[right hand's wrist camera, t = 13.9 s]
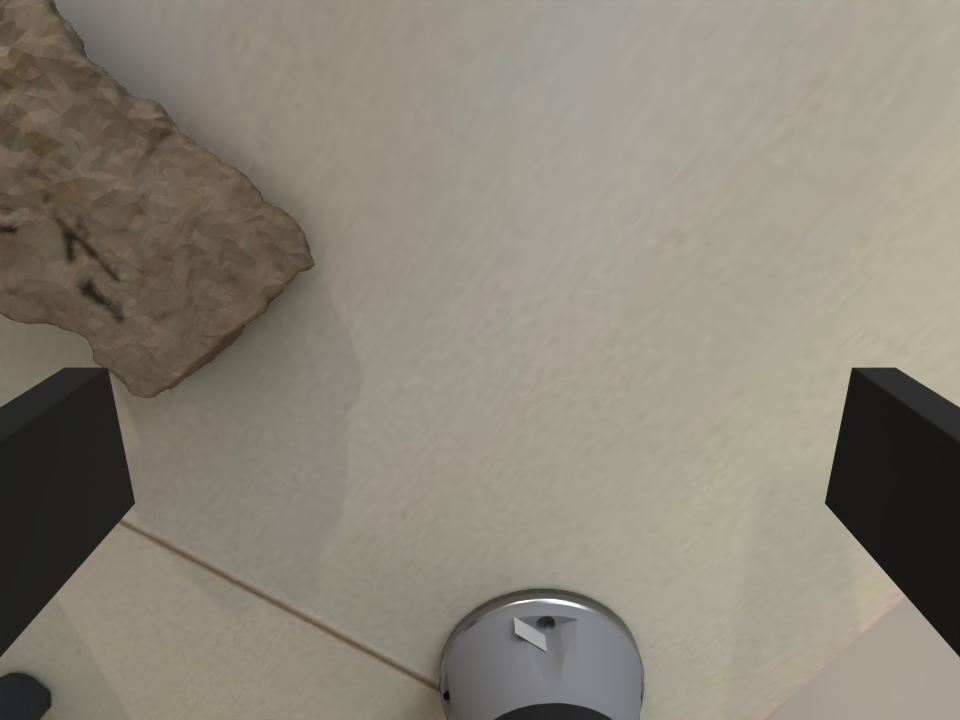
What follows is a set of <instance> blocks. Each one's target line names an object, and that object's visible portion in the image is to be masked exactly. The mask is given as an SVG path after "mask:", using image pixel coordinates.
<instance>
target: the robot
mask: <svg viewBox="0 0 960 720" xmlns="http://www.w3.org/2000/svg"><path fill="white" fill-rule="evenodd" d="M50 707H51V698H50V692H49V691H48V690H47V689H46V688H45V687H43V686H42V685H41V684H40V683H39V682H38V681H36V680H35V679H34V678H32V677H29V676H27V675H25V674H16V673H9V674H7V675H5V676H3V677H1V678H0V720H40V718H41V717H42V716H43V715H44V714H45V712H46V711H47V710H48V709H49V708H50Z"/></svg>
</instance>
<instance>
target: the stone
mask: <svg viewBox="0 0 960 720" xmlns="http://www.w3.org/2000/svg"><path fill="white" fill-rule="evenodd" d="M314 265H315V263H314V260H313V258H312V256H311V255H310V249H309V245H308V242H307V241H306V237H305V234H304V232H303V231H302V230H301V228H300V227H299V225H298V223H297V222H296V221H295V220H294V219H293V218H292V217H291V216H289V215H288V214H286V213H285V212H284V211H282V210H281V209H280V208H277V207H274V206H272V205H270V204H267V203H265V202H263V199H262V197H261V194H260V192H259V190H258V189H257V188H256V187H255V186H254V185H253V184H252V182H251V181H250V180H249V179H248V177H247V176H245V175H244V174H243V173H241V172H240V171H239V170H237V169H236V168H234V167H232V166H230V165H227V164H225V163H223V162H222V161H221V160H220V159H218V158H217V157H216V156H215V155H213V154H212V153H211V152H209V151H208V150H206V149H204V148H203V147H199V146H196V144H195V142H194V141H193V140H191V139H190V138H188V137H187V136H185V135H184V134H182V133H181V132H180V131H179V129H178V127H177V125H176V124H175V123H174V121H173V120H172V119H171V118H170V117H169V115H168V114H167V113H166V111H165V110H164V108H163V107H162V105H161V104H160V103H157V102H156V101H155V100H152V99H147V100H146V99H140V98H136V97H133V96H130V95H129V94H128V92H127V91H126V89H125V88H124V87H123V86H121V85H120V84H119V83H117V82H116V81H115V80H113V79H112V78H111V77H110V76H109V75H108V73H107V72H106V71H105V70H104V69H103V68H102V67H100V66H97V65H95V64H93V63H92V62H91V61H90V60H89V59H87V57H86V54H85V51H84V44H83V41H82V40H81V38H80V37H79V35H78V34H77V33H76V31H75V30H74V28H73V27H72V26H71V25H70V24H69V23H68V22H67V21H66V20H65V19H64V18H63V17H62V16H61V15H60V13H59V12H58V11H57V9H56V6H55V3H54V1H53V0H0V314H2V315H4V316H5V317H7V318H9V319H11V320H14V321H18V322H22V323H27V324H35V323H47V324H51V325H56V326H58V327H60V328H62V329H64V330H67V331H71V332H75V333H78V334H80V335H82V336H84V337H86V338H87V340H88V342H89V344H90V346H91V347H92V351H93V360H94V362H95V363H96V364H98V365H100V366H102V367H104V368H108V370H109V371H110V372H112V373H113V374H115V375H116V376H117V377H118V378H119V379H120V380H121V381H122V382H123V383H124V384H125V385H126V387H127V388H128V390H129V392H130V393H132V394H133V395H134V396H139V397H143V398H150V397H155V396H156V395H158V394H159V393H160V392H162V391H164V390H166V389H168V388H169V389H172V388H174V387H175V386H177V385H178V384H179V383H180V382H181V381H182V380H184V379H185V378H186V377H188V376H189V375H191V374H192V373H194V372H195V371H197V370H198V369H200V368H201V367H203V366H204V365H205V364H207V363H210V362H211V361H212V360H213V359H214V358H215V357H216V356H217V355H218V354H220V353H221V352H222V351H223V350H224V349H225V348H226V347H228V346H230V345H231V344H232V343H233V342H234V341H235V340H236V339H237V337H238V336H239V335H241V333H242V330H243V328H244V326H245V324H246V323H248V322H250V321H251V320H253V319H255V318H257V317H258V316H260V315H262V314H264V313H265V312H266V310H267V308H268V306H269V303H270V302H271V301H272V300H274V299H275V298H276V297H277V296H278V295H279V294H280V293H281V292H282V291H283V289H284V287H285V286H286V285H287V284H288V283H289V282H290V281H291V280H292V279H293V278H294V277H295V276H296V275H297V273H298V272H300V271H307V270H309V269H311V268H312V267H313V266H314Z"/></svg>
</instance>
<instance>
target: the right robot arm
mask: <svg viewBox="0 0 960 720" xmlns="http://www.w3.org/2000/svg"><path fill="white" fill-rule="evenodd" d="M134 504H135V500H134V495H133V490H132V485H131V480H130V475H129V470H128V465H127V461H126V456H125V451H124V446H123V441H122V436H121V431H120V426H119V421H118V416H117V411H116V406H115V401H114V396H113V391H112V386H111V381H110V376H109V371H108V368H63V369H62V370H60V371H58V372H57V373H55V374H54V375H52V376H50V377H49V378H47V379H45V380H44V381H42V382H41V383H39V384H37V385H36V386H34V387H33V388H31V389H29V390H28V391H26V392H25V393H23V394H21V395H20V396H18V397H17V398H15V399H13V400H12V401H10V402H8V403H7V404H5V405H4V406H2V407H0V657H1V656H2V655H3V653H4V652H5V651H6V650H7V649H8V648H9V647H10V645H11V644H12V643H13V642H14V641H15V640H16V639H17V637H18V636H19V635H20V634H21V633H22V632H23V631H24V629H25V628H26V627H27V626H28V625H29V624H30V623H31V621H32V620H33V619H34V618H35V617H36V616H37V615H38V613H39V612H40V611H41V610H42V609H43V608H44V607H45V605H46V604H47V603H48V602H49V601H50V600H51V599H52V597H53V596H54V595H55V594H56V593H57V592H58V591H59V589H60V588H61V587H62V586H63V585H64V584H65V583H66V581H67V580H68V579H69V578H70V577H71V576H72V575H73V574H74V572H75V571H76V570H77V569H78V568H79V567H80V566H81V564H82V563H83V562H84V561H85V560H86V559H87V558H88V556H89V555H90V554H91V553H92V552H93V551H94V550H95V548H96V547H97V546H98V545H99V544H100V543H101V542H102V540H103V539H104V538H105V537H106V536H107V535H108V534H109V532H110V531H111V530H112V529H113V528H114V527H115V526H116V524H117V523H118V522H119V521H120V520H121V519H122V518H123V516H124V515H125V514H126V513H127V512H128V511H129V510H130V508H131V507H132V506H133V505H134ZM825 504H826V505H827V506H828V507H829V508H830V510H831V511H832V512H833V513H834V514H835V515H836V516H837V518H838V519H839V520H840V521H841V522H842V523H843V524H844V526H845V527H846V528H847V529H848V530H849V531H850V532H851V534H852V535H853V536H854V537H855V538H856V539H857V540H858V542H859V543H860V544H861V545H862V546H863V547H864V548H865V550H866V551H867V552H868V553H869V554H870V555H871V556H872V558H873V559H874V560H875V561H876V562H877V563H878V564H879V566H880V567H881V568H882V569H883V570H884V571H885V572H886V574H887V575H888V576H889V577H890V578H891V579H892V580H893V581H894V583H895V584H896V585H897V586H898V587H899V588H900V589H901V591H902V592H903V593H904V594H905V595H906V596H907V597H908V599H909V600H910V601H911V602H912V603H913V604H914V605H915V607H916V608H917V609H918V610H919V611H920V612H921V613H922V615H923V616H924V617H925V618H926V619H927V620H928V621H929V623H930V624H931V625H932V626H933V627H934V628H935V629H936V631H937V632H938V633H939V634H940V635H941V636H942V637H943V639H944V640H945V641H946V642H947V643H948V644H949V645H950V647H951V648H952V649H953V650H954V651H955V652H956V653H957V655H958V656H959V657H960V407H958V406H956V405H955V404H953V403H951V402H950V401H948V400H947V399H945V398H943V397H942V396H940V395H939V394H937V393H935V392H934V391H932V390H931V389H929V388H927V387H926V386H924V385H923V384H921V383H919V382H918V381H916V380H915V379H913V378H911V377H910V376H908V375H906V374H905V373H903V372H902V371H900V370H898V369H897V368H852V371H851V376H850V381H849V386H848V391H847V396H846V401H845V406H844V411H843V416H842V421H841V426H840V431H839V436H838V441H837V446H836V451H835V456H834V461H833V465H832V470H831V475H830V480H829V485H828V490H827V495H826V500H825ZM440 695H441V700H442V705H443V709H444V712H445V715H446V718H447V720H640V710H641V707H642V702H643V696H644V671H643V666H642V662H641V658H640V655H639V651H638V648H637V645H636V642H635V640H634V638H633V636H632V634H631V632H630V630H629V629H628V627H627V626H626V625H625V624H624V622H623V621H622V620H621V619H620V618H619V617H618V616H617V615H616V614H615V613H614V612H612V611H611V610H610V609H608V608H607V607H605V606H604V605H602V604H601V603H599V602H597V601H595V600H593V599H591V598H588V597H586V596H583V595H580V594H576V593H573V592H568V591H563V590H555V589H531V590H523V591H518V592H513V593H510V594H506V595H503V596H500V597H498V598H495V599H493V600H491V601H489V602H487V603H485V604H483V605H481V606H480V607H478V608H476V609H475V610H474V611H472V612H471V613H470V614H468V615H467V616H466V617H465V618H464V619H463V620H462V621H461V622H460V623H459V624H458V625H457V627H456V628H455V629H454V631H453V632H452V633H451V635H450V637H449V639H448V640H447V643H446V645H445V647H444V651H443V654H442V659H441V668H440Z"/></svg>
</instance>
